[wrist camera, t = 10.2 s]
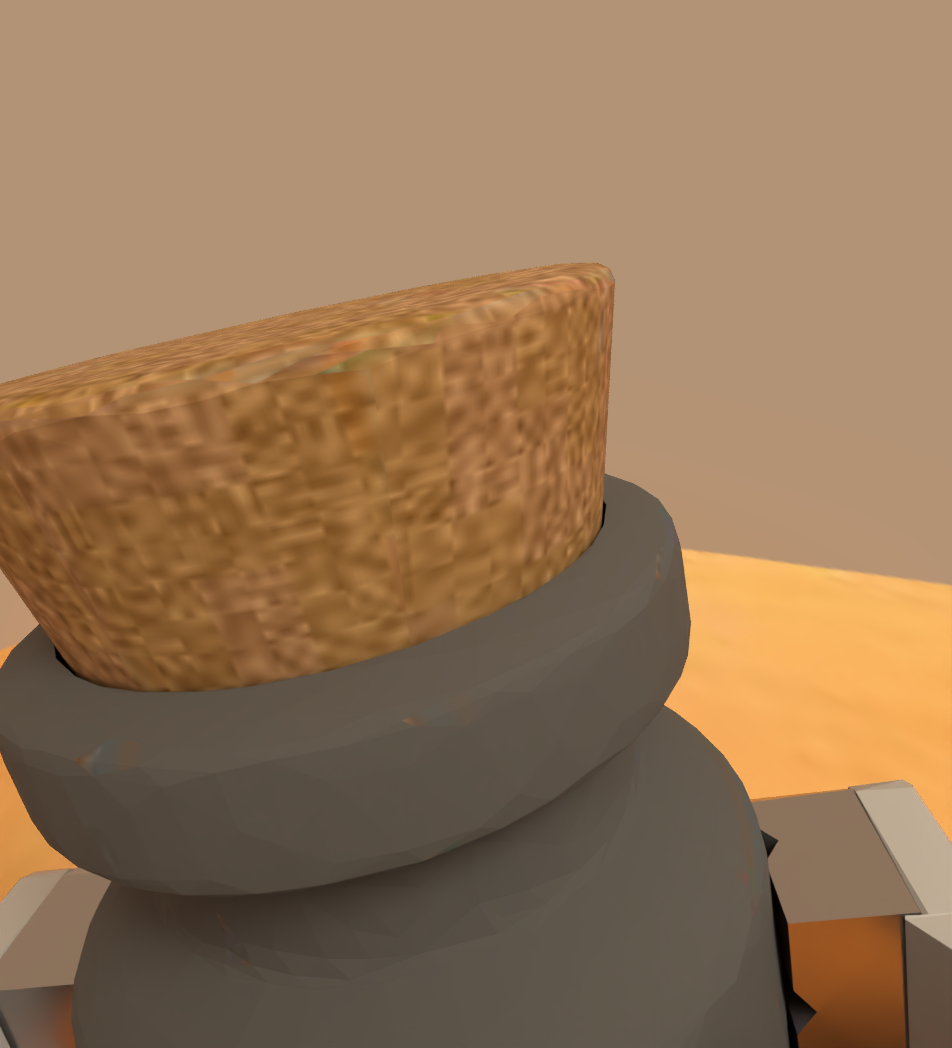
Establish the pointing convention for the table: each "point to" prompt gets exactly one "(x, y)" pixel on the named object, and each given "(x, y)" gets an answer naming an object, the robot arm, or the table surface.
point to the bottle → (374, 690)
